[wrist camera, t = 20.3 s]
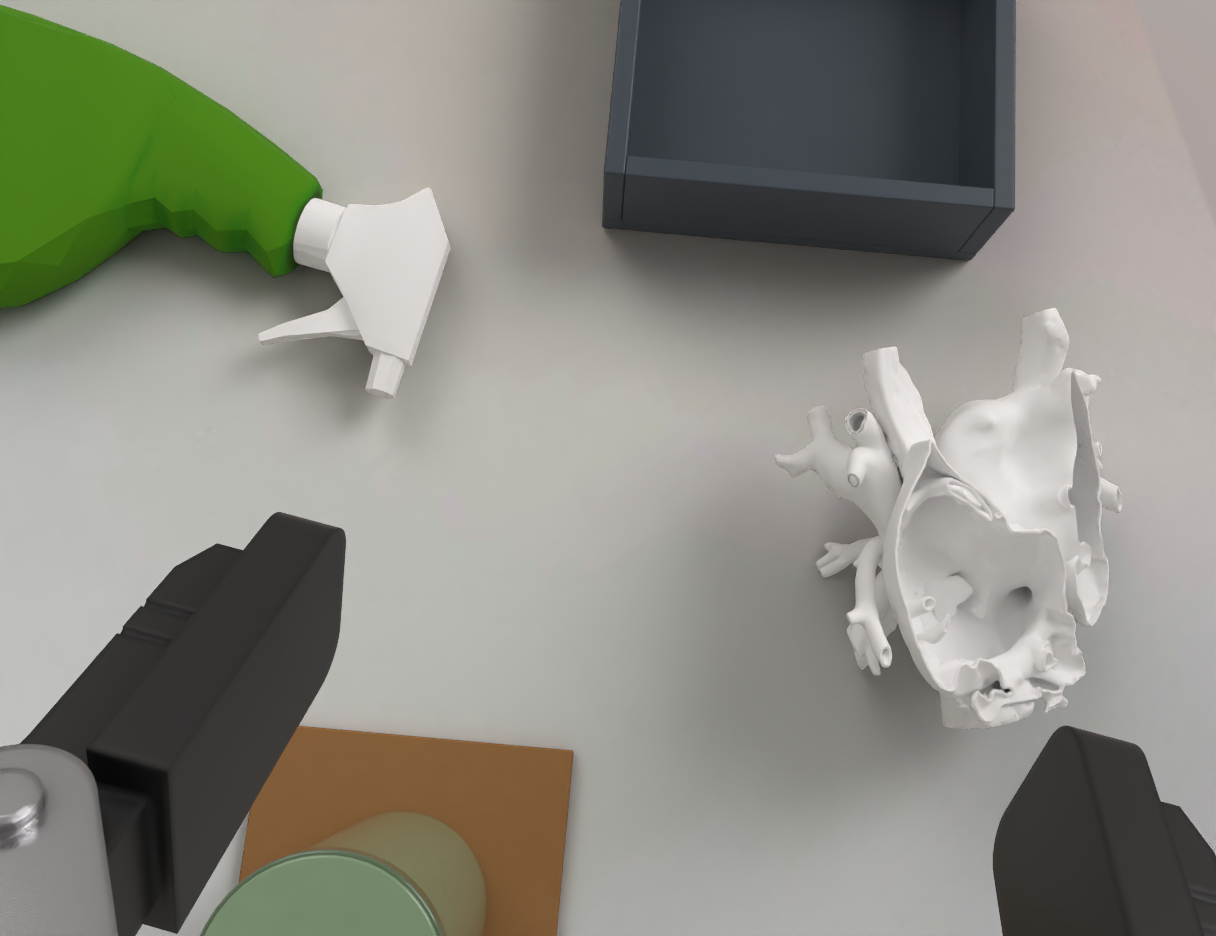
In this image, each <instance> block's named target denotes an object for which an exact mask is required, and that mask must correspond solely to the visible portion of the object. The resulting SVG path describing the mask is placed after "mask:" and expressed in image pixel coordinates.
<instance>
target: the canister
mask: <svg viewBox="0 0 1216 936" xmlns="http://www.w3.org/2000/svg"><path fill="white" fill-rule="evenodd" d="M486 914H487V894H486V886H485V881H484V876H483V874H482V871H481V868H480V865H479V863H478V861H477V859H476V857H475V855H474V853H473V852H472V850H471V849H470V847H469V846H468V844H467V843H466V842H465V841H464V840H463V839H462V838H461V836H460V835H458V834H457V833H456V832H455V831H454V830H453V829H452V828H450V827H449V826H447V825H446V824H444V823H442V822H441V821H439V820H436V819H434V818H432V817H430V816H426V815H423V814H420V813H414V812H405V811H395V812H386V813H382V814H378V815H374V816H371V817H369V818H366V819H364V820H361V821H359V822H357V823H356V824H354V825H352V826H350V827H348V828H346V829H344V830H342V831H340V832H338V833H336V834H334V835H332V836H330V837H328V838H327V839H325V840H323V841H321V842H319V843H317V844H315V845H313V846H311V847H309V848H307V849H305V850H302V851H298V852H294V853H291V854H289V855H286V856H284V857H281V858H279V859H276V860H274V861H272V862H270V863H268V864H267V865H265V866H263V867H261V868H260V869H258V870H256V871H254V872H253V873H252V874H250V875H249V876H248V877H246V878H245V879H244V880H242V881H241V882H240V883H239V884H238V885H237V886H236V887H235V888H234V889H232V890H231V891H230V892H229V893H228V894H227V895H226V897H225V898H224V899H223V900H222V901H221V903H220V904H219V905H218V906H217V908H216V909H215V910H214V912H213V914H212V915H211V917H210V918H209V920H208V921H207V923H206V925H205V927H204V929H203V931H202V933H201V935H200V936H482V933H483V930H484V926H485V920H486Z"/></svg>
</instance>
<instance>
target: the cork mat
mask: <svg viewBox="0 0 1216 936" xmlns="http://www.w3.org/2000/svg"><path fill="white" fill-rule="evenodd" d="M572 761H573V751H571V750H560V749H549V748H538V747H527V746H516V745H505V744H494V743H482V742H471V741H460V740H449V739H438V738H427V737H416V736H405V735H394V734H383V733H372V732H361V731H349V730H338V729H327V728H316V727H305V726H298V727H297V729H296V731H295V732H294V734H293V736H292V738H291V739H290V741H289V743H288V744H287V746H286V748H285V750H284V751H283V753H282V755H281V756H280V758H279V760H278V762H277V763H276V765H275V767H274V768H273V770H272V772H271V774H270V775H269V777H268V779H267V781H266V782H265V784H264V786H263V787H262V789H261V791H260V793H259V794H258V796H257V798H256V799H255V801H254V803H253V805H252V806H251V808H250V813H249V819H248V826H247V832H246V839H245V845H244V852H243V858H242V865H241V871H240V878H239V883H240V882H241V881H242V880H244V879H245V878H246V877H248V876H249V875H250V874H252V873H253V872H254V871H256V870H258V869H260V868H261V867H263V866H265V865H267V864H268V863H270V862H272V861H274V860H276V859H279V858H281V857H284V856H286V855H289V854H291V853H294V852H298V851H302V850H305V849H307V848H309V847H311V846H313V845H315V844H317V843H319V842H321V841H323V840H325V839H327V838H328V837H330V836H332V835H334V834H336V833H338V832H340V831H342V830H344V829H346V828H348V827H350V826H352V825H354V824H356V823H357V822H359V821H361V820H364V819H366V818H369V817H371V816H374V815H378V814H382V813H386V812H395V811H405V812H414V813H420V814H423V815H426V816H430V817H432V818H434V819H436V820H439V821H441V822H442V823H444V824H446V825H447V826H449V827H450V828H452V829H453V830H454V831H455V832H456V833H457V834H458V835H460V836H461V838H462V839H463V840H464V841H465V842H466V843H467V844H468V846H469V847H470V849H471V850H472V852H473V853H474V855H475V857H476V859H477V861H478V863H479V865H480V868H481V871H482V874H483V876H484V881H485V886H486V894H487V914H486V920H485V926H484V930H483V933H482V936H556V935H557V924H558V913H559V902H560V892H561V881H562V870H563V859H564V848H565V837H566V826H567V816H568V805H569V794H570V783H571V772H572Z"/></svg>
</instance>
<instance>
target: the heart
mask: <svg viewBox="0 0 1216 936" xmlns="http://www.w3.org/2000/svg"><path fill="white" fill-rule="evenodd" d="M1069 343H1070V339H1069V336H1068V333H1067V330H1066V328H1065V326H1064V323H1063V321H1062V319H1061V317H1060V315H1059V313H1058V311H1057V309H1056V308H1052V309H1047V310H1043V311H1039V312H1036V313H1033V314H1031V315H1028V316H1025V317H1022V325H1021V348H1020V355H1019V358H1018V362H1017V365H1016V370H1015V378H1014V382H1013V387H1012V392H1011V393H1010V394H1008V395H1006V396H1004V397H1002V398H999V399H994V400H973V401H970V402H967V403H965V404H963V405H961V406H959V407H958V408H956V409H955V410H954V411H953V412H952V413H951V415H950V416H949V417H948V418H947V420H946V421H945V423H944V424H943V426H942V427H941V428H940V430H939V431H938V433H937V434H936V436H935V437H934V436H933V433H932V429H931V426H930V424H929V422H928V420H927V418H926V416H925V414H924V411H923V404H922V400H921V397H920V394H919V392H918V391H917V389H916V388H915V387H914V385H913V383H912V381H911V379H910V376H909V374H908V372H907V371H906V370H905V368H904V367H903V366H902V365H901V364H900V363H899V357H898V351H897V348H896V346H895V347H889V348H881V349H877V350H873V351H870V352H867V353H864V354H863V370H864V375H863V380H864V386H865V389H866V392H867V394H868V397H869V400H870V403H871V406H872V409H873V413H874V416H875V417H874V416H873V415H872V414H871V413H870V412H869V411H867V410H866V409H864V408H856V409H854V410H853V411H851V412H850V413H849V416H847V417H846V418H845V426H846V428H847V431H848V433H850V434H851V436H852V438H853V439H854V441H855V442H856V444H857V447H856V448H854V449H853V448H851V447H848V446H845V445H843V444H841V443H839V442H838V441H837V439H836V437H835V435H834V433H833V429H832V425H831V418H830V415H829V412H828V410H827V408H826V407H825V406H818V407H815V408H813V409H812V410H810V411H809V412H808V413H807V420H808V423H809V425H810V429H811V434H812V440H813V441H812V442H811V443H810V444H808V445H807V446H806V447H805V448H803V449H802V450H800V451H799V452H797V453H795V454H793V455H783V454H776V455H774V456H775V460H776V462H777V465H778V466H779V467H781V468H783V469H785V470H787V471H788V472H789V474H790V475H791V476H792V477H797V476H799V475H801V474H803V473H805V472H807V471H808V470H813V471H815V472H817V473H818V474H819V475H820V477H821V479H822V480H823V482H824V483H825V485H826V486H827V488H831V489H832V490H833V491H834V492H835V494H836V496H837V498H838V499H841V498H845V499H847V500H850V501H852V502H853V503H854V504H856V505H857V506H858V507H859V508H860V509H861V510H862V511H863V512H864V513H865V514H866V515H867V516H868V517H869V518H870V520H871V521H872V522H873V523H874V525H875V527H876V529H877V531H878V533H879V535H878V536H876V537H874V538H866V539H861V540H857V541H855V542H853V543H851V544H840V543H834V542H833V543H832V542H828V543H826V544H825V549H826V550H827V551H828V554H827V555H825V556H823V557H822V558H820V559H819V560H818V561H816V566H817V568H818V570H820V573H821V575H822V577H823V578H826V577H829V576H832V575H834V574H836V573H838V572H839V571H841V570H843V569H844V568H845V567H847V566H848V565H849V564H851V563H853V565H854V567H857V573H856V578H855V597H856V603H855V608H854V609H853V610H852V611H850V612H848V613H847V614H846V616H847V619H848V621H849V623H850V625H849V627H848V628H847V630H846V632H847V634H848V637H849V639H850V641H851V643H852V646H853V649H854V651H855V652H854V655H855V657H856V662H857V663H858V666H859V667H860V669H861V670H863V669H864V668H865V667H866V666H867V665H869V667H870V669H871V671H872V673H873V674H874V675H875V676H877V675H880V674H881V671H880V666H879V662H880V664H881V666H883V667H886V668H887V667H889V666H890V664H891V661H892V652H891V648H890V645H889V643H888V641H887V639H886V637H887V636H888V635H889V634H890V633H891V632H893V631H895V629H896V627H897V624H898V625H899V628H900V631H901V634H902V637H903V639H904V641H905V643H906V645H907V647H908V649H909V651H910V654H911V657H912V659H913V661H914V663H915V665H916V667H917V669H918V670H919V672H920V673H921V675H922V676H923V677H924V679H925V680H926V681H927V682H928V683H929V685H930V686H931V687H932V688H933V689H935V690H937V691H939V694H940V698H941V716H942V722H943V724H944V726H945V727H948V728H964V729H973V728H975V729H976V728H991V727H995V726H999V725H1002V724H1009V723H1014V722H1017V721H1018V720H1021V719H1025V718H1026V717H1028V716H1030V715H1031V713H1032V712H1033V711H1034V709H1033V708H1034V702H1033V701H1032V700H1036V699H1039V698H1042V699H1043V700H1044V701H1045V708H1044V713H1047V712H1048V711H1049V710H1050V709H1055V708H1061V707H1066V706H1067V704H1068V700H1067V699H1065V698H1064V697H1063V694H1062V693H1063V690H1064V687H1065V686H1066V685H1070V686H1072V685H1074V684H1075V683H1076V682H1077V681H1078V680H1079V679H1080V678H1082V677H1083V676H1084V675H1085V671H1086V669H1085V662H1084V660H1083V657H1082V652H1081V651H1080V649H1079V648H1078V647H1077V639H1076V637H1075V630H1076V622H1075V619H1076V621H1077V622H1078V623H1079V624H1081V625H1082V626H1085V627H1091V626H1093V625H1094V624H1095V623H1096V621H1097V620H1098V618H1099V616H1100V614H1101V611H1102V607H1105V606H1106V599H1107V595H1108V578H1109V563H1108V559H1107V557H1106V556H1105V554H1104V543H1103V538H1102V535H1101V527H1100V520H1101V511H1102V507H1105V508H1107V509H1109V510H1111V511H1114V512H1117V513H1120V512H1121V509H1122V496H1121V491H1120V489H1119V487H1117V486H1116V485H1113V484H1111V483H1110V482H1108V481H1106V480H1105V479H1103V478H1102V477H1101V476H1100V470H1101V469H1102V464H1101V463H1100V461H1099V459H1098V456H1100V455H1102V447H1101V443H1100V442H1095V443H1093V435H1092V430H1091V426H1090V418H1089V413H1088V404H1089V394H1091V393H1094V392H1095V391H1096V388H1097V386H1098V385H1099V384H1100V383H1101V379H1100V378H1099V377H1098V376H1097V375H1086V374H1085V372H1082V371H1081V370H1074V369H1073V368H1065V369H1063V370H1062V367H1063V364H1064V361H1065V358H1066V355H1067V351H1068V348H1069ZM1061 370H1062V371H1061ZM892 455H893V456H895V457H896V458H897V460H898V464H899V467H898V468H897V466H896V464H895V462H894V461H893V457H892ZM902 479H903V481H902ZM877 565H878V566H879V567H880V568H881V569H882V570H881V571H880V573H879V574H878V575H877V577H876V575H875V572H876V568H877ZM1073 611H1074V614H1075V619H1074V617H1073V616H1072V615H1071V614H1070V613H1069V612H1073ZM878 660H879V661H878Z"/></svg>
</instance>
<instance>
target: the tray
mask: <svg viewBox="0 0 1216 936" xmlns="http://www.w3.org/2000/svg"><path fill="white" fill-rule="evenodd" d="M1015 41H1016V0H621V2H620V12H619V22H618V33H617V43H616V53H615V64H614V74H613V84H612V95H611V105H610V115H609V125H608V136H607V146H606V156H605V167H604V188H603V220H602V226H603V227H604V228H615V229H626V230H638V231H649V232H660V233H671V234H682V235H693V236H704V237H715V238H727V239H738V240H749V241H760V242H771V243H782V244H793V245H804V246H816V247H827V248H838V249H849V250H860V251H871V252H882V253H894V254H905V255H916V256H927V257H938V258H949V259H960V260H971V259H972V258H973V257H974V256H975V255H976V253H977V252H978V251H979V250H980V249H981V248H982V247H983V245H984V244H985V243H986V242H987V241H988V240H989V238H990V237H991V236H992V235H993V234H994V233H995V232H996V230H997V229H998V228H999V227H1000V226H1001V225H1002V223H1003V222H1004V221H1005V220H1006V219H1007V218H1008V217H1009V215H1010V214H1011V213H1012V212H1013V211H1014V209H1015Z"/></svg>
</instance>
